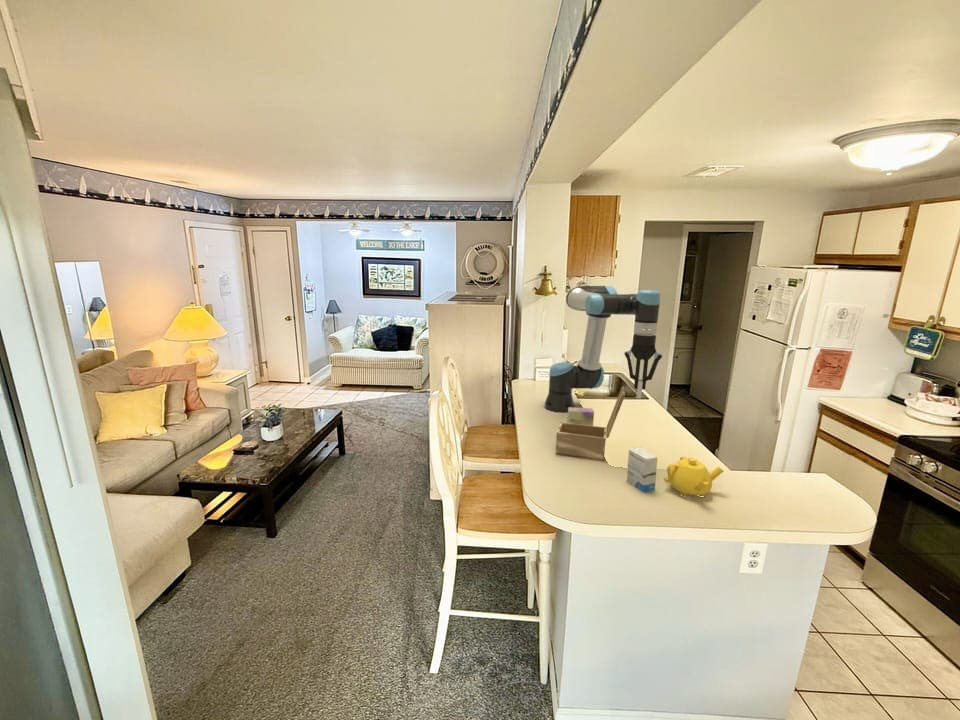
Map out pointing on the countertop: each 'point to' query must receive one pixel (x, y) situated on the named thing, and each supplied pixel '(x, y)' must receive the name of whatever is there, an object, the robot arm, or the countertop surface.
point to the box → (580, 416)
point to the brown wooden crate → (581, 441)
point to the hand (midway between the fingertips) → (638, 397)
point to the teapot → (691, 476)
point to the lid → (615, 411)
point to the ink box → (642, 469)
